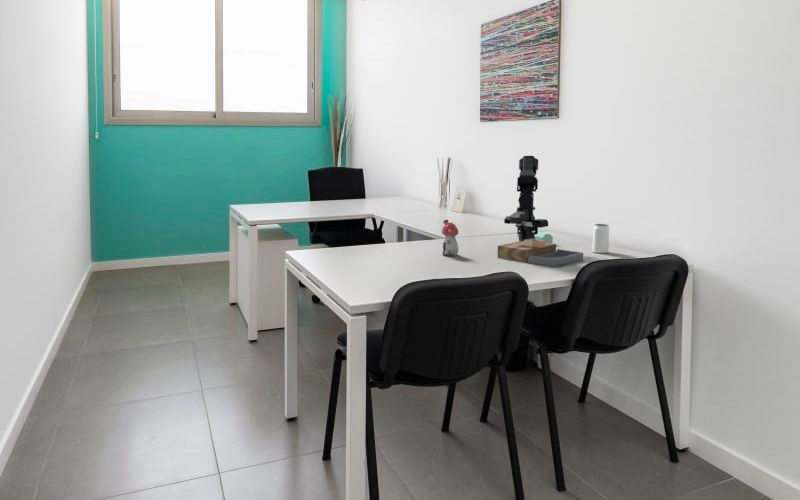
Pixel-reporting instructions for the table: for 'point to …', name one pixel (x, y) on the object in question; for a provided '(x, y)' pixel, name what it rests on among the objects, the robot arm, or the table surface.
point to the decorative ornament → (450, 239)
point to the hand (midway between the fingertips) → (525, 241)
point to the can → (600, 238)
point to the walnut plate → (522, 251)
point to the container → (543, 237)
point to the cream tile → (528, 242)
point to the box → (556, 258)
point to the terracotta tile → (539, 243)
